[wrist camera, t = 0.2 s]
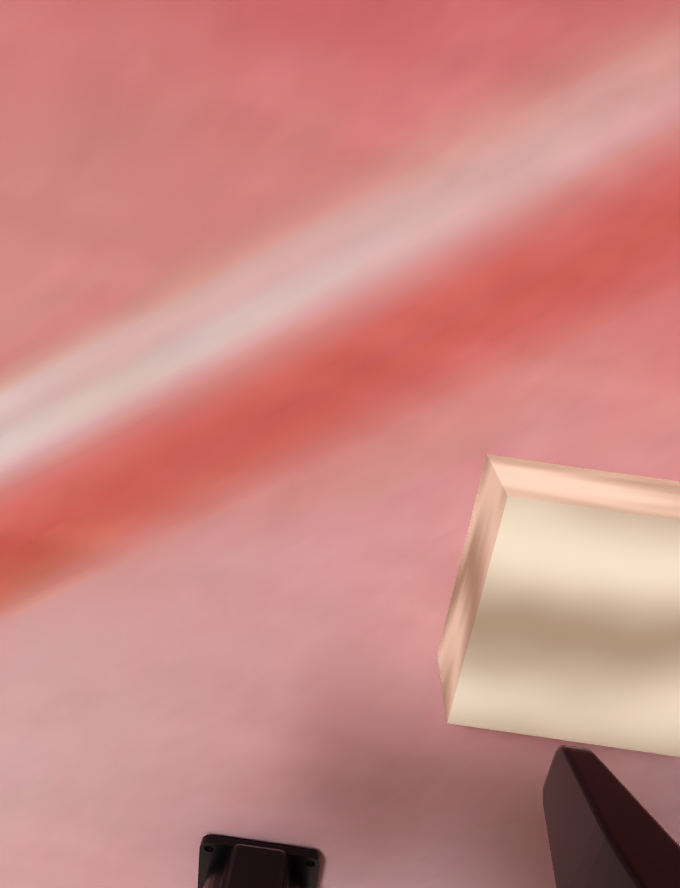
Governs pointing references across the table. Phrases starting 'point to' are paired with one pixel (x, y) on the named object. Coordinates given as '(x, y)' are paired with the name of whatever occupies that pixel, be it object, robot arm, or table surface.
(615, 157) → the table surface
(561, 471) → the flat wooden block
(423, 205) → the table surface
